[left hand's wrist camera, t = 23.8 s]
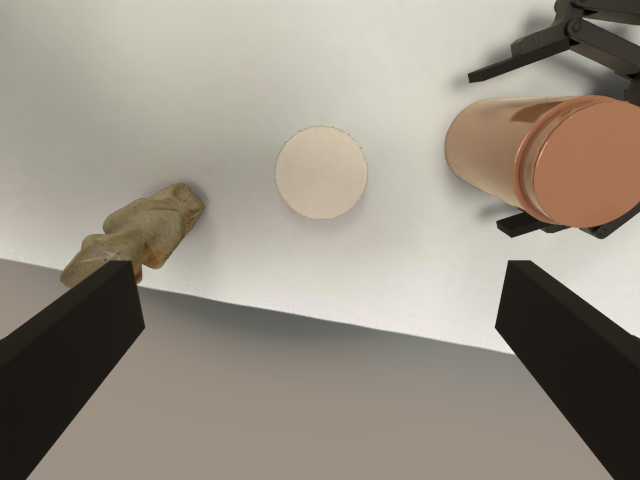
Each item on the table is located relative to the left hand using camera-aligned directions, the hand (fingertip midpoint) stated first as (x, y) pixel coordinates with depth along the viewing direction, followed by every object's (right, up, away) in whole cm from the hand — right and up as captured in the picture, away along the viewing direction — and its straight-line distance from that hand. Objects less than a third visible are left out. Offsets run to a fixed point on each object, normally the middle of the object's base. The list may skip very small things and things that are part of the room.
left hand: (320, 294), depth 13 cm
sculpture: (-15, +5, +26) cm, 31 cm away
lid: (0, +8, +23) cm, 25 cm away
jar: (+17, +12, +24) cm, 31 cm away
